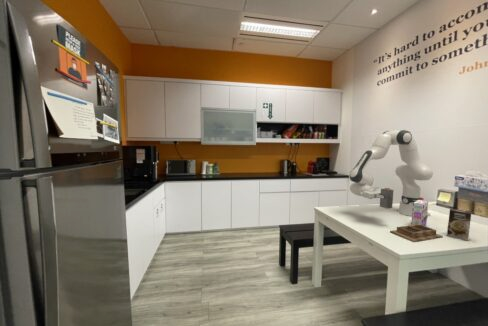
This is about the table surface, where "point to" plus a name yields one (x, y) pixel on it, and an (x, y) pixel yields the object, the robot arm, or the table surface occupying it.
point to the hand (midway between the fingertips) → (387, 196)
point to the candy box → (419, 212)
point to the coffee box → (459, 224)
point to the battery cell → (386, 198)
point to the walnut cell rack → (416, 233)
